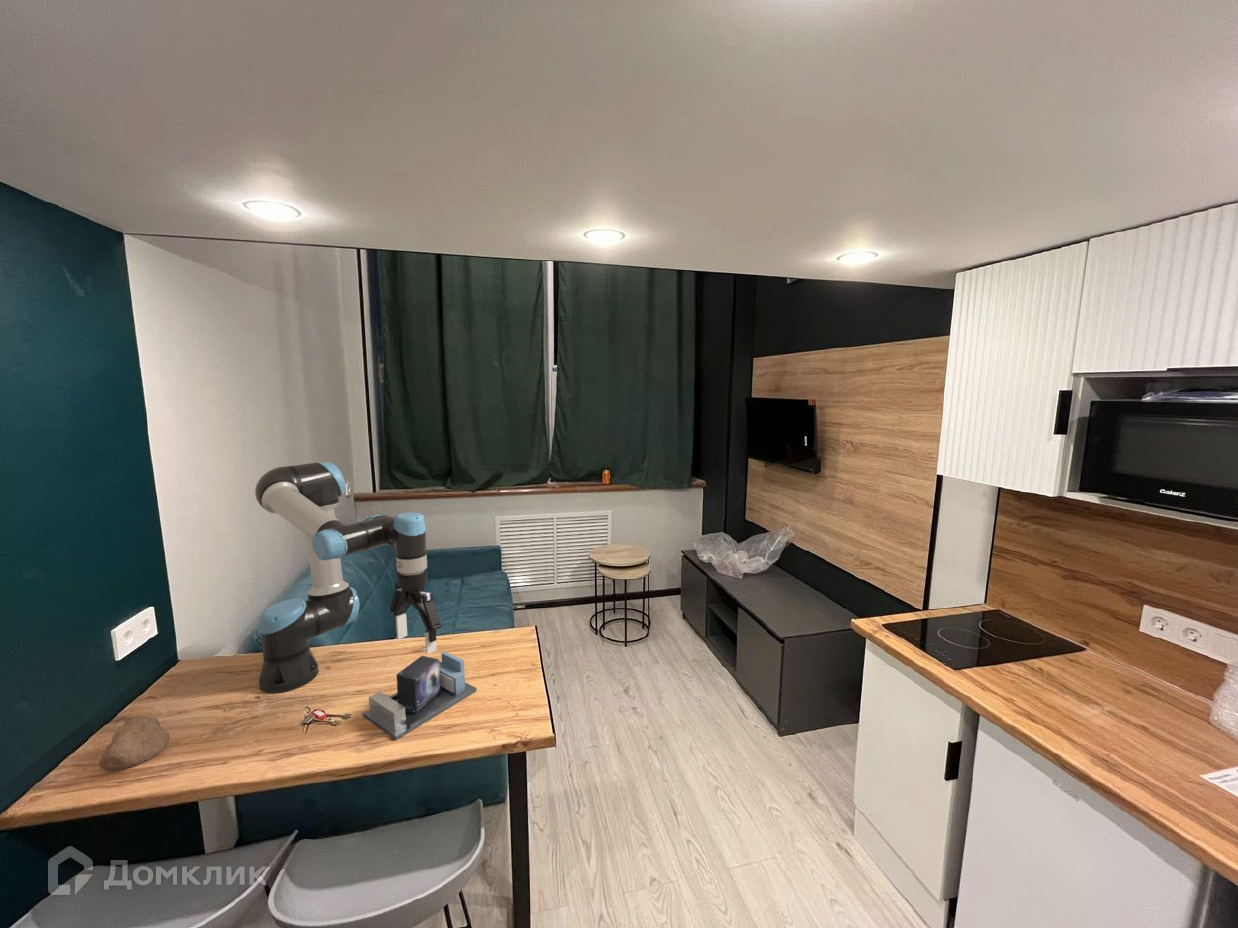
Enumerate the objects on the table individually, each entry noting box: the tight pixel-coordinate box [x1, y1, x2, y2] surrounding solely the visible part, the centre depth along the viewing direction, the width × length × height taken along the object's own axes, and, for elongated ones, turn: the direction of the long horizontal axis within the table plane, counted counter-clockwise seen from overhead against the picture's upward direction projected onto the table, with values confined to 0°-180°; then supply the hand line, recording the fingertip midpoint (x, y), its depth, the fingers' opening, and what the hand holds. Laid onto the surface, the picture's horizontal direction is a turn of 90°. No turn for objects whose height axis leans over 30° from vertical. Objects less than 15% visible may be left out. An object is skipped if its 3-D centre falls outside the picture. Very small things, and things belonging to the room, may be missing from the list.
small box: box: [396, 655, 440, 714], centre depth 136 cm, size 11×6×10 cm, turn 163°
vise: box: [362, 681, 477, 741], centre depth 137 cm, size 16×25×6 cm, turn 145°
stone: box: [98, 716, 171, 772], centre depth 118 cm, size 12×9×10 cm
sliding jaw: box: [439, 651, 466, 695], centre depth 144 cm, size 12×5×8 cm, turn 55°
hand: (416, 644), depth 135 cm, fingers open, 13 cm apart
